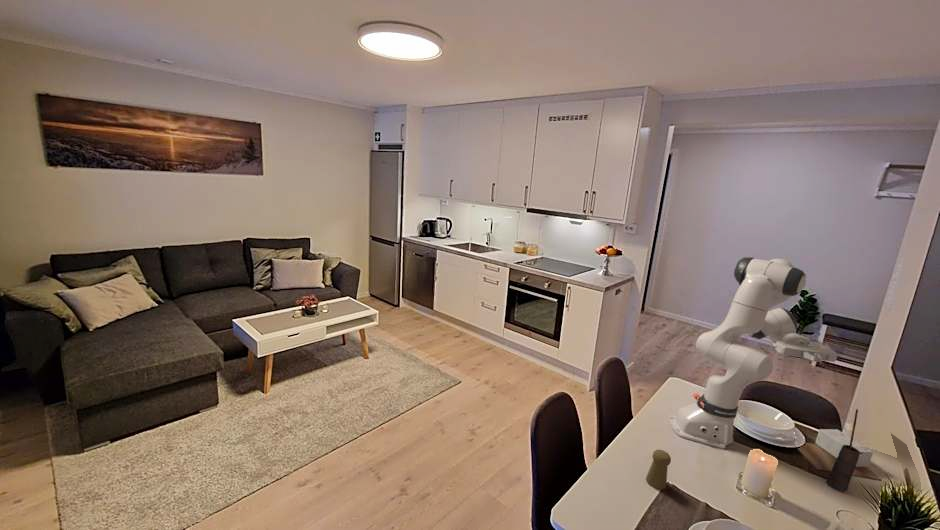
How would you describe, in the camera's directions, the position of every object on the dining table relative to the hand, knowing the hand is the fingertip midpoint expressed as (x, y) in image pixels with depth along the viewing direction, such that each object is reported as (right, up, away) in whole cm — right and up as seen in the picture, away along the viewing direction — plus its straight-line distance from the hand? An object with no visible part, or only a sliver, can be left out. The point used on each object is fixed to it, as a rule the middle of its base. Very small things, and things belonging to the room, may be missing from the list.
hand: (817, 360), depth 154 cm
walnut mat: (-1, -35, -8) cm, 36 cm away
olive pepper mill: (-75, -33, -26) cm, 86 cm away
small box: (+3, -30, 0) cm, 30 cm away
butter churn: (-12, -38, -22) cm, 45 cm away
